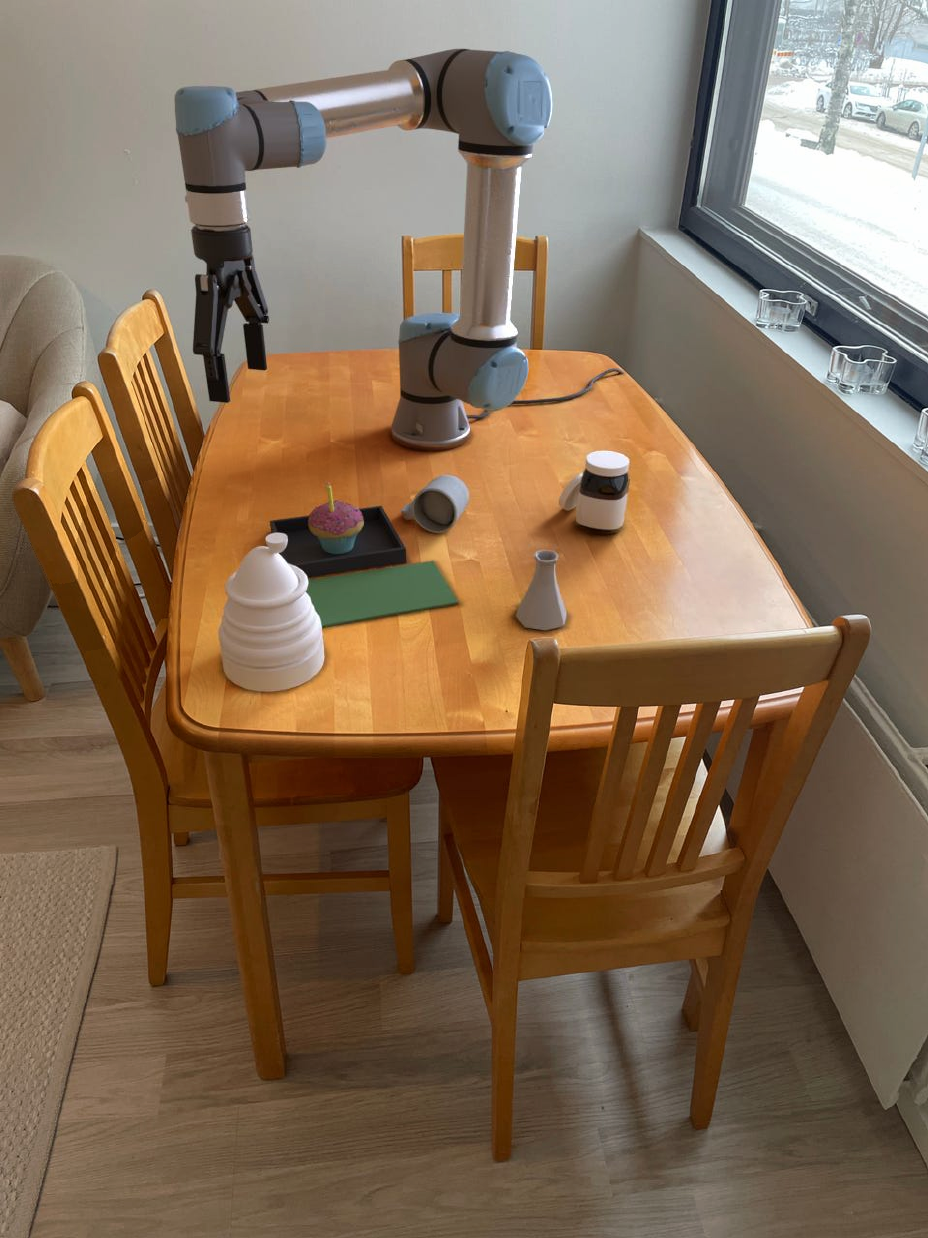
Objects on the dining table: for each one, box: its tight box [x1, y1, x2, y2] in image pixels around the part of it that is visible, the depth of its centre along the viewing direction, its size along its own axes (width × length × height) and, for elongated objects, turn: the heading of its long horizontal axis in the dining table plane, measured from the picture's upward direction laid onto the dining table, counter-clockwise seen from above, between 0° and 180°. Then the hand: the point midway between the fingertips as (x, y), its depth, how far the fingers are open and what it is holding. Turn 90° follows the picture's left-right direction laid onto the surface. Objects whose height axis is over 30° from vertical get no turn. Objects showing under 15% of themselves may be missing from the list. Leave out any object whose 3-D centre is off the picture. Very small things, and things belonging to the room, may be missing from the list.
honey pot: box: [218, 533, 325, 693], centre depth 113 cm, size 13×13×18 cm
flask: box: [515, 549, 568, 631], centre depth 125 cm, size 7×7×10 cm
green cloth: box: [306, 560, 459, 628], centre depth 131 cm, size 20×12×1 cm, turn 109°
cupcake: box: [307, 481, 364, 554], centre depth 138 cm, size 9×8×12 cm
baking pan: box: [269, 505, 407, 579], centre depth 141 cm, size 18×15×2 cm
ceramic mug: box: [401, 474, 470, 534], centre depth 148 cm, size 11×8×8 cm
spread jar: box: [558, 450, 631, 536], centre depth 148 cm, size 12×11×12 cm
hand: (239, 384), depth 130 cm, fingers open, 13 cm apart
